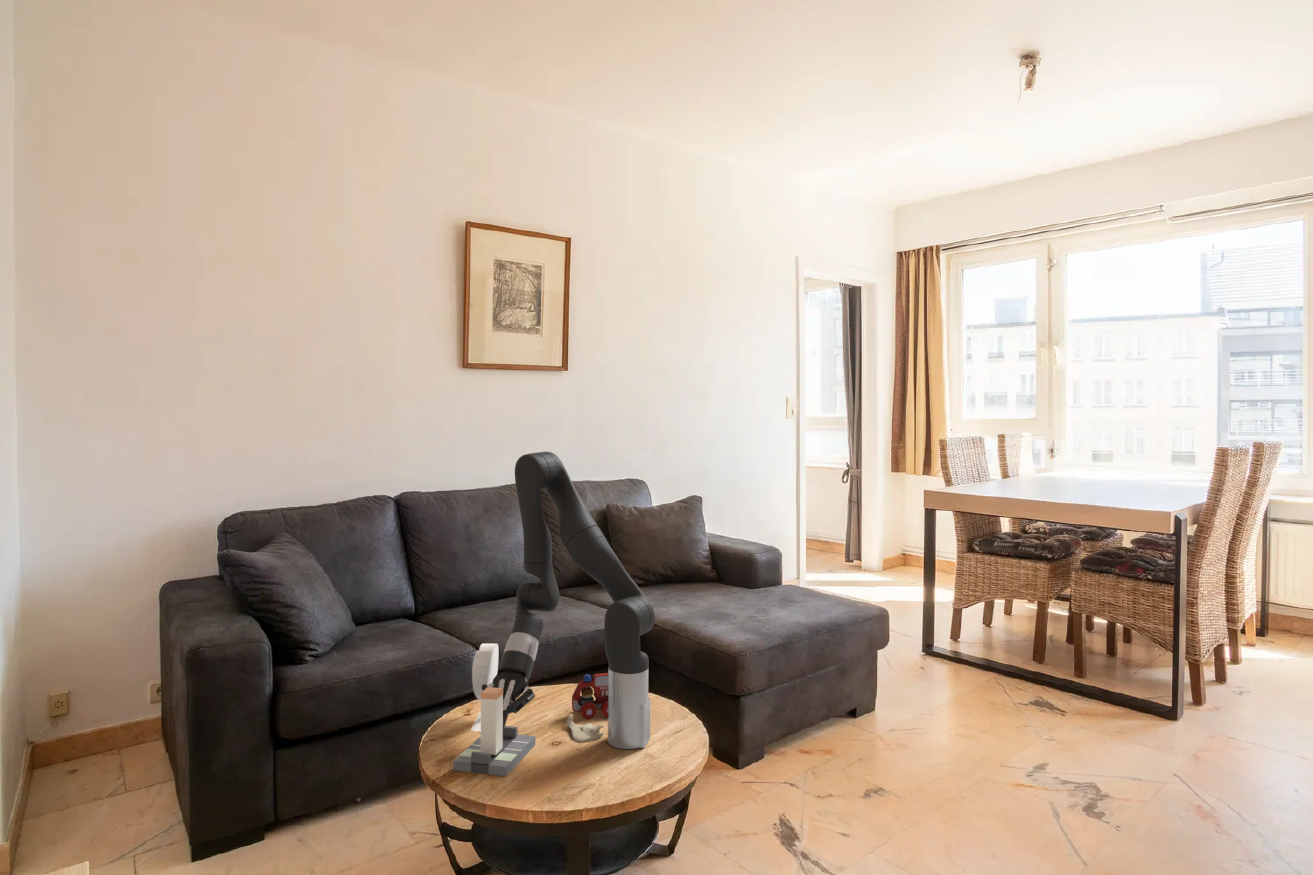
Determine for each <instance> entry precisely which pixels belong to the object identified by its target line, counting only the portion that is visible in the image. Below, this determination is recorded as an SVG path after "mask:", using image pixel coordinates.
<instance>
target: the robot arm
mask: <svg viewBox="0 0 1313 875" xmlns="http://www.w3.org/2000/svg"><path fill="white" fill-rule="evenodd" d="M514 481H515V488H516V494H517V495H516V496H517V500H518V506H519V512H520V513H519V514H520V518H521V525H522V533H523V534H522V535H523V536H522V537H523V568H524V569H523V570H524V572H526V573H527V574H529V575H531V576H535V577H537V578H538V579H539V581H540V582H539V581H531V580H530V581H524V582H523V583H521V584H520V585H519V586H518V588H517V591H516V601H515V602H516V606H515V607H516V610H515V619H514V624H513V626H512V629H511V632H510V635H509V637H508V640H507V642H506V643H505V647H504V651H503V652H502V657H501V659H500V662H499V664H498V672H497V675H496V677H495V678H494V679H493V682H492V683H490V684H488V685H486V684H483V685H482V687H481V688H482V690H483V691H484V690H485V689H486V688H487V687H493V688H503V728H504V726H506V722H507V720H508V716H509V715H510V714H513V713H514V714H517V713H518V712H519V711H521V710H522V709H523V708H524V707H525V706H526V705H527V704H529V703H530V702H531V701H532V700H533V699H534V698H535V697H536V694H535V693H534V691H533V689H532V688H530V683H529V680H530V678H531V674H532V670H533V667H534V664H535V660H536V659H537V653H538V649H539V643H540V640H541V636H542V634H543V630H544V620H543V619H542V618H541V617H540V616H539V615H537V614H534V613H531V612H530V611H533V612H534V611H536V612H545V613H548V612H553V611H555V610H556V608H557V607H558V606H559V603H560V598H561V597H560V589H559V586H558V583H557V580H556V576H555V573H554V568H553V539H552V535H551V531H550V530H549V527H548V525H547V523H546V521H545V519H544V516H543V513H542V510H541V501H540V500H541V491H543V490H545V491H546V493H548V495H549V496H550V498H551V499H552V501H553V503H554V505H555V507H556V509H557V510H556V511H557V514H558V525H559V535H560V539H561V542H562V544H563V545H564V547H565V549H566V550H567V553H568V554H569V555H570V557H571V559H572V560H573V561H574V563H575V564H576V566H578V568H580V569H581V570H582V571H583V572H584V573H586V575H588V576H589V577H591V578H592V579H594V580H595V581H596V582H597V583H598V584H600V586H602V587H603V588H604V590H605V591H606V593H608V595H609V597H610V599H611V600H612V602H613V603H612V604H610V605H609V606H608V608H607V609H606V612H605V615H604V616H605V617H604V622H603V623H604V624H603V625H604V627H603V628H604V631H603V632H604V649H605V650H604V651H605V656H606V658H607V662H608V673H609V681H608V718H607V742H608V745H610V746H612V747H614V748H616V749H621V750H634V749H635V750H636V749H644V748H646V745H647V744H648V742H649V740H650V739H651V698H650V697H649V665H650V664H649V662H650V661H649V660H650V659H649V656H648V654H647V653H645V652H644V651H641V636H643V635H645V634H646V633H648V632H649V631H651V630H652V629H653V627H654V626H655V622H656V614H655V610H654V607H653V605H652V603H651V602H650V600H649V599H648V597H647V596H646V595H645V594H644V592H643V591H642V590H641V588H640V587H639V586H638V584H636V582H635V581H634V580H633V578H632V577H631V576H630V574H629V573H628V572H627V570H626V569H625V567H624V565H623V564H622V562H621V561H620V559H619V558H618V556H617V554H616V553H615V552H614V550H613V548H612V547H611V545H610V544H609V541H608V539H607V538H606V536H605V535H604V533H603V532H602V530H601V529H600V527H599V525H598V524H597V523H596V521H595V519H594V518H593V516H592V515H591V513H590V512H589V510H588V508H587V506H586V505H585V503H584V501H583V499H582V498H581V496H580V495H579V493H578V491H577V489H576V487H575V485H574V484H573V481H572V479H571V477H570V476H569V473H568V471H567V469H566V467H565V465H564V463H563V462H562V460H561V459H560V457H559V456H558V455H557V454H555V453H553V452H551V451H540V452H532V453H525V454H523V455H521V456H520V457H519V458H518V459H517V461H516V462H515V467H514Z"/></svg>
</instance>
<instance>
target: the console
mask: <svg viewBox="0 0 1313 875" xmlns="http://www.w3.org/2000/svg"><path fill="white" fill-rule="evenodd" d="M518 728H519V727H518V726H514V725H513V726H512V725H505V726H504V728H503V748H502V749H501V750H500V751H499V752H498V753H497V754H496V755H491V754H490V753H482V752H481V735H480V736H479V737H478V738H477V739H475V741H473V743H471V744H470V745H469V746H468V747H466V749H465V750H464V751H463V752H461V753H460V754H459V755H458V756H457V757H456V758H455V759H453V766H452V767H453V769H454V770H453V771H457V770H458V772H465V771H466V773H467V772H468V773H475V774H481V773H485V774H484V775H489V774H491V775H490V776H499V777H507V776H508V775H510V773H512V771H513V770H514V769H515V768H516V767H517V765H518V764H519V763H520V762H521V761H522V760H524V758H525V757H526V756H527V755H528V753H530V752H531V751H532V749H533V748H534V747H535V746H536V735H528V734H519V733H518Z"/></svg>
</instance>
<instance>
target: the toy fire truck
mask: <svg viewBox="0 0 1313 875" xmlns="http://www.w3.org/2000/svg"><path fill="white" fill-rule="evenodd" d="M608 681H609V672H606V673H595V674H593V675H592V676H591V675H590V674H588V673H587V674H584V675H583V679H582V680H580V681H579V682H578V683H577V685H576V687H575V689H574V691H573V694H572V695H571V709H572V711H573V712H575V713H579V712H580V714H581V717H582V718H584V719H585V720H592V719H594V718H595V717H596V715H597V713H598V710H600V712H601V715H603V717H605V718H607V719H608Z"/></svg>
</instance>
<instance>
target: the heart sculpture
mask: <svg viewBox="0 0 1313 875" xmlns="http://www.w3.org/2000/svg"><path fill="white" fill-rule="evenodd" d="M499 654H500V653H499V644H498V643H481V644H480V646H479V650H476V652H475V654H474V657H473V660H472V668H471V669H472V672H471V674H472V676H471V679H472V680H471V681H472V690H473V693H474V696H475V697H476V698H477V700H478V701H481V692H482V691H483V690H482V688H481V687H482V685H483V684H486V685H488V684H490V683H492V682H493V679H494V678H495V677H496V675H497V672H498V668H499ZM470 731H473V732H478V731H479V732H478V733H481V710H480V711H479V713H478V714H477V717H476V718H475V720H474V722H473V724H472V726H471V728H470Z"/></svg>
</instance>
